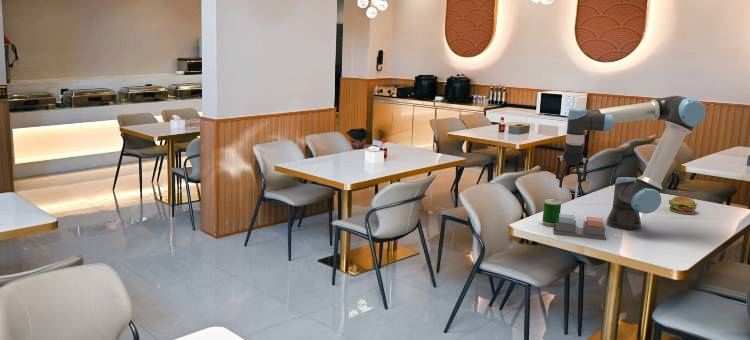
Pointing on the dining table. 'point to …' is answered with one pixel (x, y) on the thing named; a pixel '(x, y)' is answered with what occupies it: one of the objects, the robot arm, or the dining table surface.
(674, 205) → the food
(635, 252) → the dining table surface
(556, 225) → the key console
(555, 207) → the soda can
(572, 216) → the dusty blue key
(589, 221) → the brick red key
